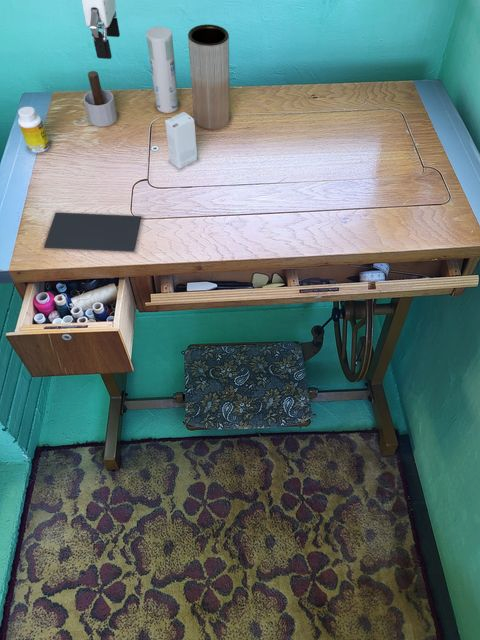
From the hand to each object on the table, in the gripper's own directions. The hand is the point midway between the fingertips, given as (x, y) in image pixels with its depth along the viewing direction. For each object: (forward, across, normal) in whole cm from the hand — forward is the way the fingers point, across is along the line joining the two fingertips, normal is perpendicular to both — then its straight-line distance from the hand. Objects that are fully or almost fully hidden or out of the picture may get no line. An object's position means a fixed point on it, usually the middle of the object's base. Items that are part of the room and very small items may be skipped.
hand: (109, 46), depth 121 cm
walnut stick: (+23, -8, -8) cm, 25 cm away
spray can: (+24, -15, +9) cm, 29 cm away
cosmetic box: (+24, +9, +16) cm, 30 cm away
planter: (+24, -10, +22) cm, 34 cm away
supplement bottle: (+24, +7, -22) cm, 33 cm away
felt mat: (+24, +36, -1) cm, 43 cm away
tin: (+24, -8, -8) cm, 26 cm away
